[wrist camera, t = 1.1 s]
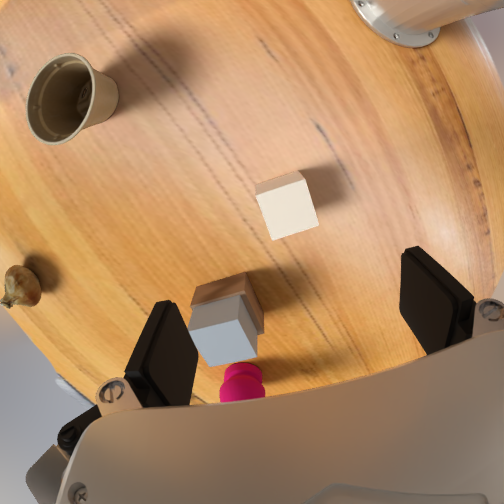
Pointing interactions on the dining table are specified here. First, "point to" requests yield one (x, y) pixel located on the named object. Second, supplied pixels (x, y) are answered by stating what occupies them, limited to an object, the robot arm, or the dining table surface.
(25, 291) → the onion
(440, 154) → the dining table surface
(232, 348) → the slate block
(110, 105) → the flower pot
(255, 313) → the walnut block
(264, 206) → the cream block
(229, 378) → the pepper mill
